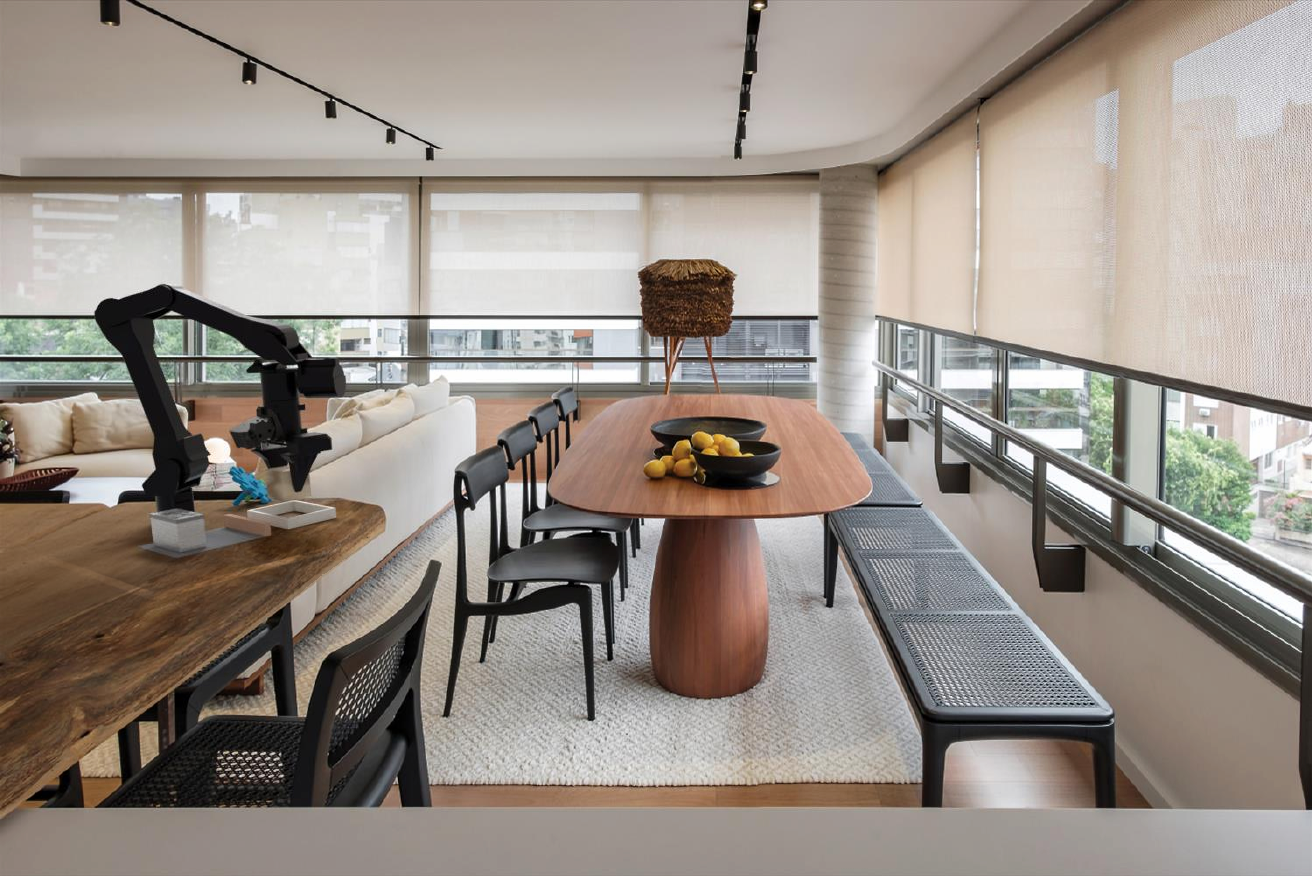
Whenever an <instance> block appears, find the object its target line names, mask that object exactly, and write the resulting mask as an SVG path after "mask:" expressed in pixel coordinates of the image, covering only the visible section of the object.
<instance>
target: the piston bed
mask: <svg viewBox="0 0 1312 876" xmlns="http://www.w3.org/2000/svg"><path fill="white" fill-rule="evenodd" d="M223 521H224V526H222V527H218V528H217V527H216V528H214V529H208V530H205V536H206V545H207V546H206V547H202V548H198V549H194V550H190V551H186V552H181V553H179V552H175V551H172V550H168V549H165V548H161V547H158V546H154V542H151V543H146V544H143V545H138V546H137V548H140V549H144V550H147V551H151V552H153V553H157V554H161V555H165V556H168V557H170V558H171V557H172V558H175V559H179V558H183V557H184V558H185V557H188V556H191V555H196V554H199V553H200V554H201V553H203V552H207V551H208V552H209V551H212V550H216V549H220V548H223V547H228V546H232V545H236V544H242V543H245V542H248V541H252V540H259V539H262V538H266V537H270V536H272V528H271V525H270V522H265V521H260V520H256V519H251V518H248V516H247V517H246V516H242V515H236V514H232V513H228V514H227V513H226V514H223Z"/></svg>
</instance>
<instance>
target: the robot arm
mask: <svg viewBox="0 0 1312 876" xmlns="http://www.w3.org/2000/svg"><path fill="white" fill-rule="evenodd" d="M171 312H173V313H176V314H178V315H180V316H182V317H185V318H188V319H190V320H191V321H194V322H197V323H199V324H201V325H204V326H205V327H209V328H211V329H214V330H216V331H218V332H221V333H223V334H225V335H228V336H230V337H231V338H233V339H235V340H236V341H237V342H239V343H240V344H241V345H242V346H243V347H244V348H245V349H247V350H249V351H250V352H251V353H253V354H254V355H256V356H258V357H259V358H255V359H254V361H253V363H252V364H251V365H249V366H248V367H247V368H246V369H245V370H246V371H245V372H246V373H247V374H259V376H260V387H261V389H260V390H261V398H262V401H261V402H262V405H258V406H257V408H256V409H255V410H256V416H254V417H253V418H252V417H251V418H249V419H248V420H245V421H242V422H241V423H239V424H237V425H235V426H234V427H232V428H230V429H229V434H230V436H231V438H232V440H233V442H234V444H235V447H236V448H237V449H241V448H243V449H246V450H250V452H251V453H253V454H256V456H258V457H259V458H261V459H262V460H263V461H264V463H265V465H266V467H267V468H266V469H270V468H276V467H282V466H287V465H289V468H290V473H291V479H292V484H293V488H294V491H295V492H301V491H302V489H303V486H304V484H305V481H306V479H307V476H308V474H309V475H310V471H311V469H312V467H313V465H314V463H315V461H316V459H317V457H318V455H319V454H321V453H322V452H327V451H331V450H333V439H332V437H331V436H329V434H328V433H326V432H325V433H324V432H317V431H314V432H308V428H307V427H302V417H301V415H302V413H301V411H306V403H300V394H301V395H303V397H305V399H339V398H340V399H341V398H343V397H344V395H345V393H346V388H347V378H346V377H347V376H346V375H345V373H344V372H345V371H344V370H343V367H342V365H341V363H340V357H338V356H333V357H332V356H331V357H327V358H326V357H325V358H315V357H313V356H312V355H311V354H310V352H309V351H308V350H307V349H306V348H305V346H304V345H303V344H302V343H301V342H300V337H299V335H298V333H297V329H295V328H294V327H293V326H292V325H290V324H286V323H283V322H279V321H275V320H271V319H265V318H259V317H254V316H249V315H246V314H244V313H242V312H239V311H237V310H235V309H233V308H230V307H229V306H225V305H223V304H221V303H218V302H216V301H213V300H212V299H209V298H206V297H204V296H202V295H200V294H197V293H194V292H193V291H190V290H188V289H186V288H185V287H183V286H181V285H179V284H174V283H172V284H171V283H161V284H158V285H156V286H154V287H152V288H149V289H146V290H143V291H140V292H137V293H133V294H129V295H126V296H124V297H109V298H105V299H103V300H101V301H100V302H99V303H98V305H97V307H96V309H95V310H94V312H93V313H94V315H93V316H94V320H95V323H96V325H97V326H98V328H99V330H100V331H101V333H102V334H103V336H104V338H105V340H106V341H107V342H108V343H109V344H111V346H113V348H114V349H116V351H118V352H119V354H121V356H122V359H123V361H124V365H125V367H126V369H127V371H128V374H129V376H130V379H131V381H132V384H133V387H134V389H135V391H136V394H137V397H138V400H139V401H140V404H141V407H142V409H143V412H144V415H145V416H146V419H147V421H148V424H149V427H150V428H151V429H150V430H151V432H152V435H153V443H152V453H151V454H152V459H153V460H152V461H153V465H154V469H155V470H154V471H153V472H152V473H151V474H150V475H149V476H148V477H147V478H146V479H145V480H144V481H143V483H141V488H142V489H143V491H144V493H145V496H147V497H155V498H154V499H155V507H156V512H161V511H166V510H171V509H176V508H178V509H182V510H186V511H191V512H195V513H196V508H195V498H194V489H193V488H194V487H199V486H200V485H201V481H202V478H203V476H204V475H205V473H207V471H208V468H209V466H210V461H209V460H210V459H209V457H210V456H211V455H212V454H211V452H209V450H208V448H207V447H206V444H205V440H204V436H203V434H202V433H197V434H194V435H193V434H192V432H190V431H189V430H188V429H187V428H186V427H185V425H184V422H183V420H182V417H181V415H180V412H179V409H178V406H177V404H176V401H175V399H174V396H173V394H172V391H171V388H170V386H169V385H168V382H167V381H168V380H167V379H166V377H165V374H164V371H163V369H162V366H161V364H160V360H159V358H158V355H157V353H156V351H155V348H154V345H155V344H154V343H155V342H154V341H155V334H156V333H155V332H156V329H155V328H156V327H155V322H154V321H155V320H158V319H160V318H162V317H164V316H166V315H168V314H169V313H171ZM266 360H269V361H270V360H274V361H275V362H274V361H273V362H269V361H266ZM288 366H297V367H288Z"/></svg>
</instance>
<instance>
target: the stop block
mask: <svg viewBox="0 0 1312 876" xmlns="http://www.w3.org/2000/svg"><path fill="white" fill-rule="evenodd" d="M264 473H265V475H264V476H265V482H266V483H265V487H266V488H267V497H268V499H274V500H273V501H278V502H279V501H280V502H283V503H284V502H289V501H293V500H298V499H303V498H307V497H312V492H311V477H310V473H309V474H308V476H307V479H306V481H305V484H304V486H303V489H302V491H301V492H295V491H294V488H293V484H292V479H291V473H290V468H289V464H288V465H287V466H282V467H276V468H270V469H268V468H265V469H264Z"/></svg>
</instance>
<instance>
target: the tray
mask: <svg viewBox="0 0 1312 876" xmlns="http://www.w3.org/2000/svg"><path fill="white" fill-rule="evenodd" d="M290 512H299V513H300V512H301V513H304V514H299V515H295V516H291V517H286V516H280V515H281V514H286V513H290ZM246 513H247V514H246V515H247V518H251V519H256V520H260V521H265V522H270V526H272V527H277V528H281V529H285V530H291V529H296V528H299V527H300V528H301V527H304V526H307V525H311V524H315V523H320V522H324V521H328V520H332V519H336V518H337V511H336V507H333V506H328V505H323V504H317V503H312V502H306V501H301V500H297V499H294V500H290V501H285V502H284V501H283V502H280V503H275V504H271V505H266V506H262V507H258V508H252V509H249V510H247V509H246Z"/></svg>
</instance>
